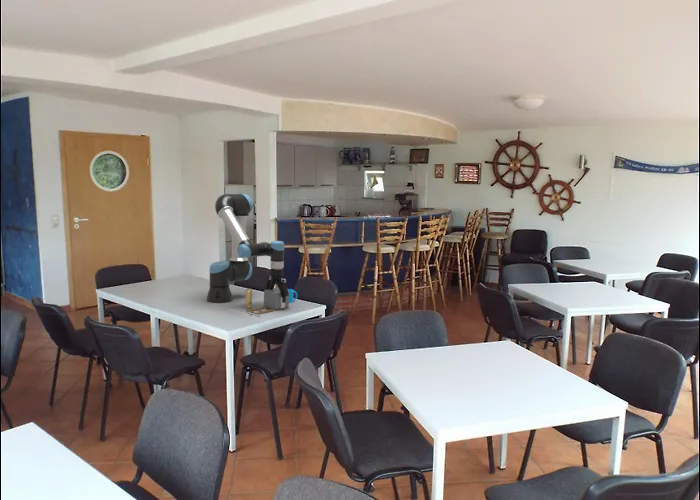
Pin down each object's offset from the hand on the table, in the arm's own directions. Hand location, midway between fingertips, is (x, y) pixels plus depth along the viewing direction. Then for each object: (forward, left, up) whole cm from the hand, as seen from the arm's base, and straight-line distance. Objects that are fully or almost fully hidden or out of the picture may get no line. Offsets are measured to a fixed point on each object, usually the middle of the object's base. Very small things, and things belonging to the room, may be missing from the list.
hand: (276, 306), depth 301 cm
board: (0, 0, -2) cm, 2 cm away
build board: (0, -13, -2) cm, 13 cm away
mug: (-7, +17, -2) cm, 18 cm away
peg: (-9, -13, -2) cm, 16 cm away
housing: (0, 0, 0) cm, 0 cm away
